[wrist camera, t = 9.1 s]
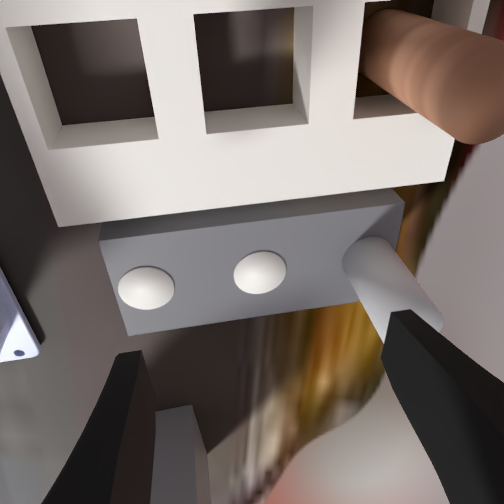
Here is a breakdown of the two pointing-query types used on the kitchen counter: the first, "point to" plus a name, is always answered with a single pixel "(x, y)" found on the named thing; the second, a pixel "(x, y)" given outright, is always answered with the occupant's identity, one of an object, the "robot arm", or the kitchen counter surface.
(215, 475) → the kitchen counter surface
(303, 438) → the kitchen counter surface
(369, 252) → the studded grey block
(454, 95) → the terracotta pin
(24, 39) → the peg board
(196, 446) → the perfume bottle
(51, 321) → the kitchen counter surface
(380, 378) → the kitchen counter surface
